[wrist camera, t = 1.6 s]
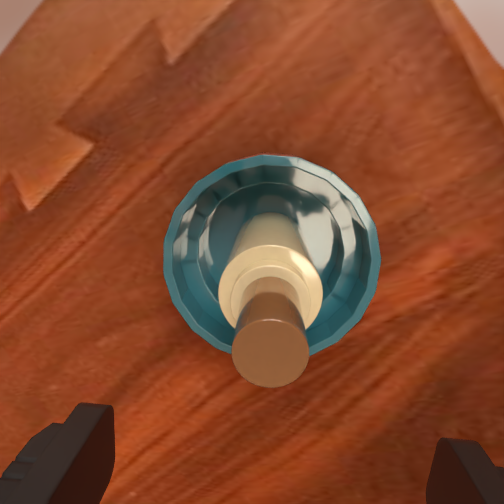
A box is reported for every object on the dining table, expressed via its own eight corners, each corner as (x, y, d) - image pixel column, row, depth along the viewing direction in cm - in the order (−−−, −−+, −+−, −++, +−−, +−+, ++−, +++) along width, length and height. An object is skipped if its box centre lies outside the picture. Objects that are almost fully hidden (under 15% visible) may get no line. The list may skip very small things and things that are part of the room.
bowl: (183, 145, 27) (164, 146, 22) (374, 160, 26) (398, 164, 21) (179, 319, 30) (162, 352, 25) (347, 334, 30) (362, 370, 25)
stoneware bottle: (236, 209, 27) (200, 280, 13) (310, 215, 27) (354, 293, 13) (232, 278, 28) (195, 409, 14) (302, 284, 28) (333, 422, 14)
